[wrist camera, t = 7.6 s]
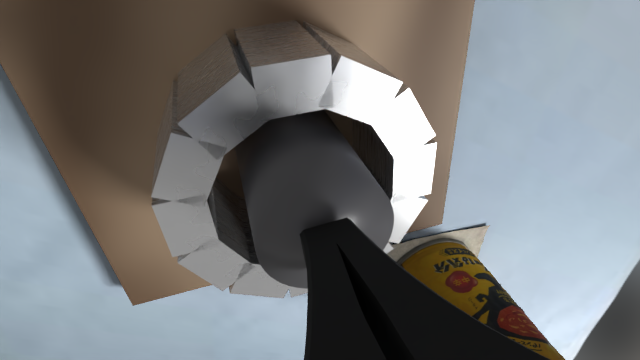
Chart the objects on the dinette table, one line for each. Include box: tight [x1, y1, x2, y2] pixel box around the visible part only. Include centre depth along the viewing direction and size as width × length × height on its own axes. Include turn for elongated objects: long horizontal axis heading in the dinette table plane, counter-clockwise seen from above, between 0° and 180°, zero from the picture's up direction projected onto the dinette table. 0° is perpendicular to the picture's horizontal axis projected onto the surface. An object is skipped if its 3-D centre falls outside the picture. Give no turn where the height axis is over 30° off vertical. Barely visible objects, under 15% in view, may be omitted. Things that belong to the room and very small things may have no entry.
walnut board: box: [0, 0, 475, 305], centre depth 16 cm, size 16×14×1 cm
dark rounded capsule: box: [235, 109, 394, 289], centre depth 13 cm, size 4×4×6 cm
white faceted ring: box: [151, 20, 437, 298], centre depth 14 cm, size 9×9×4 cm
